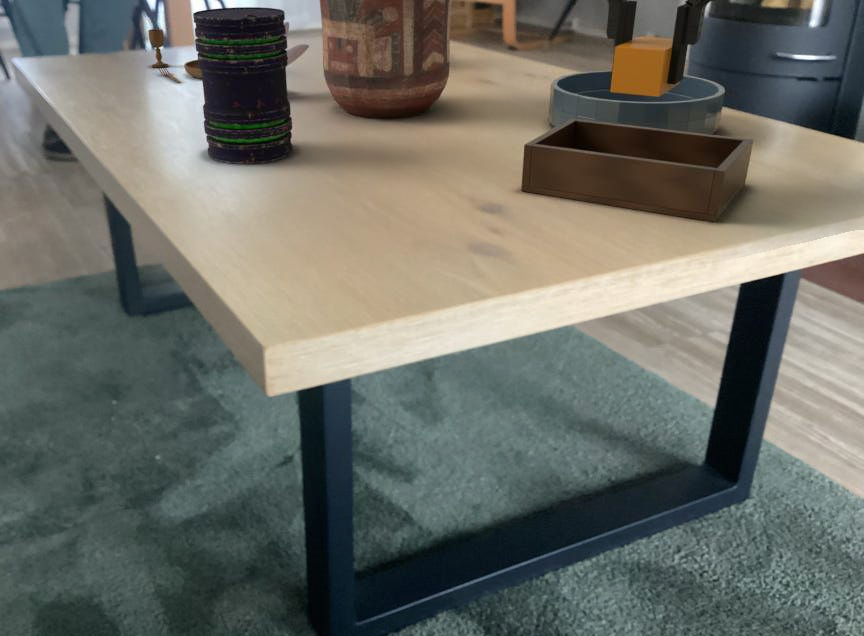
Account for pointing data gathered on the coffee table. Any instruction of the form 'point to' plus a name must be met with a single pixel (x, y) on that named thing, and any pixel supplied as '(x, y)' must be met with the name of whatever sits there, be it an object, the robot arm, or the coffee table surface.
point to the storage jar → (244, 83)
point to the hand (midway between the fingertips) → (646, 78)
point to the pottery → (386, 54)
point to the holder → (638, 167)
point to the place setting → (190, 67)
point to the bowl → (637, 103)
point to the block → (642, 67)
